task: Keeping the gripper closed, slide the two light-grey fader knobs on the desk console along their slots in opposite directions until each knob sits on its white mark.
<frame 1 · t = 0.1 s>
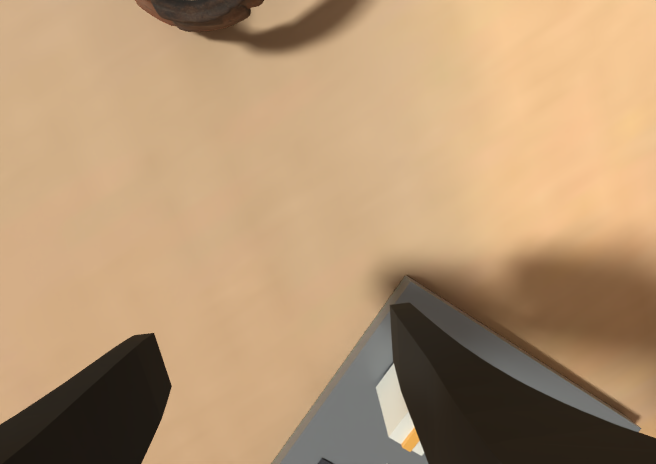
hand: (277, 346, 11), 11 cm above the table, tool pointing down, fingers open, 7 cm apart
console: (437, 453, 24), on the table
fader 2: (412, 398, 19), point 4 cm above the table, slide at 0.0 cm
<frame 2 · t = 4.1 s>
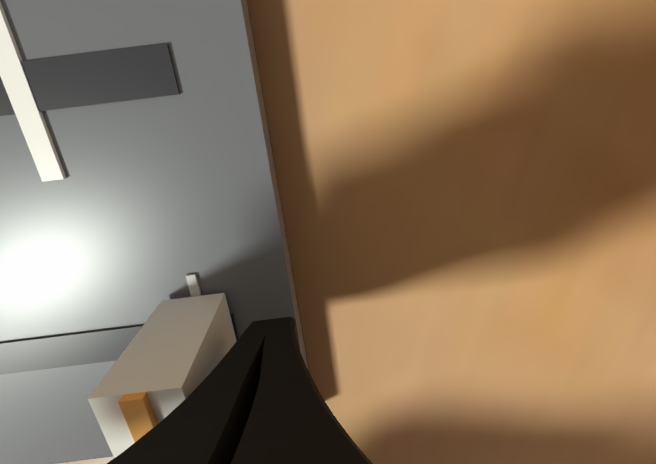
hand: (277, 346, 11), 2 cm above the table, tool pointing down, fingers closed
console: (8, 231, 12), on the table
fader 1: (182, 382, 10), point 4 cm above the table, slide at 0.1 cm, touching gripper
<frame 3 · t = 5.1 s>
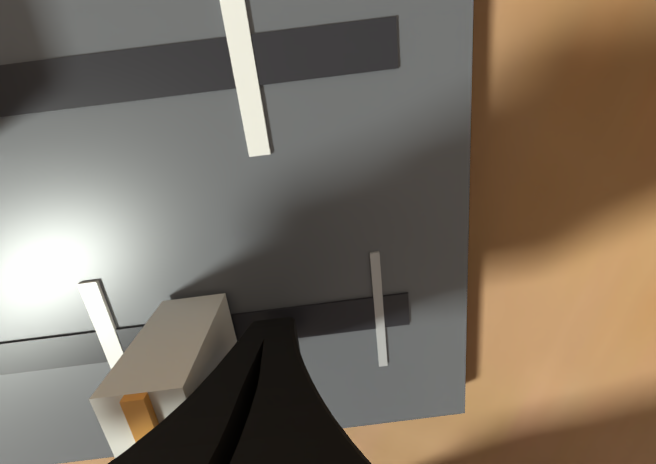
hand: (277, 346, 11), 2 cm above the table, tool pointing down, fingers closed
console: (183, 209, 12), on the table
fader 1: (183, 383, 10), point 4 cm above the table, slide at 5.8 cm, touching gripper
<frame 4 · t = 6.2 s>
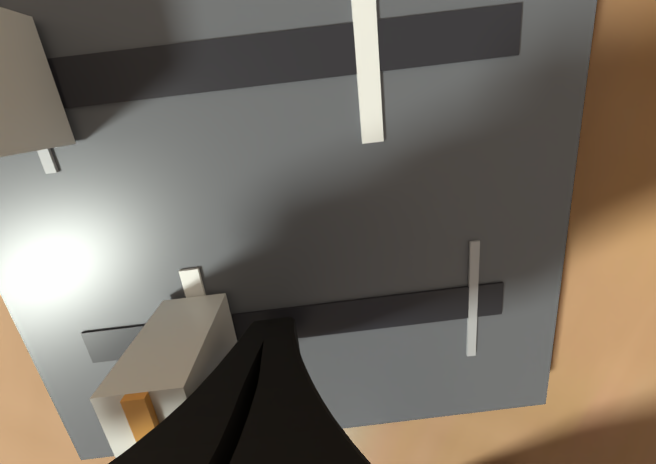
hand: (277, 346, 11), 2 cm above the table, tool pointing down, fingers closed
console: (279, 198, 12), on the table
fader 1: (183, 382, 10), point 4 cm above the table, slide at 9.0 cm, touching gripper
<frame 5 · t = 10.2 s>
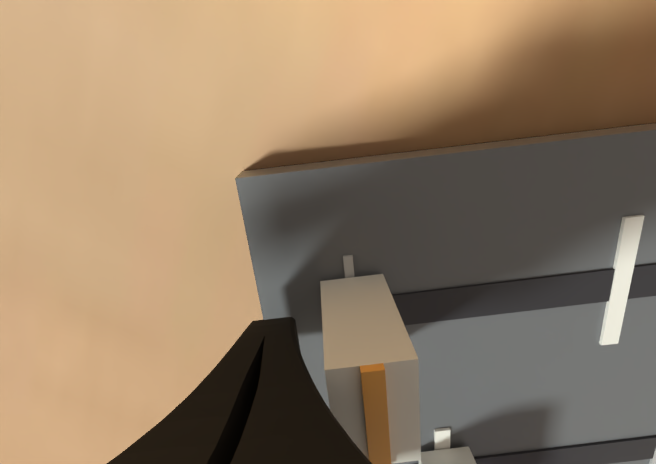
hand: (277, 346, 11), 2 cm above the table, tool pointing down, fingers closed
console: (504, 364, 15), on the table
fader 2: (364, 360, 10), point 4 cm above the table, slide at 0.1 cm, touching gripper
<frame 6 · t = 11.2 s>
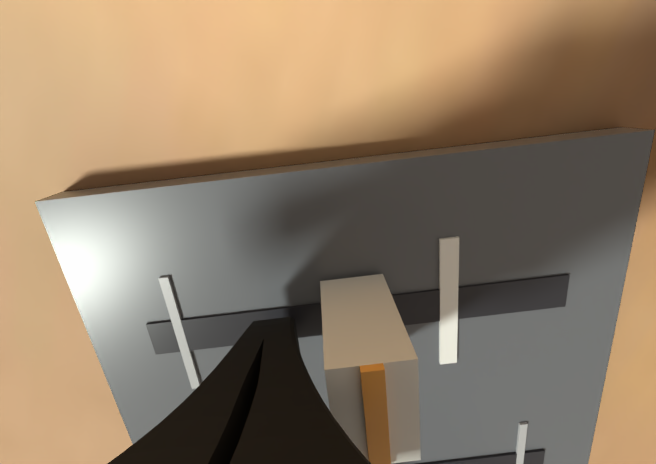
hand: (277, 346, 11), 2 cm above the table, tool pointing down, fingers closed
console: (363, 381, 15), on the table
fader 2: (364, 360, 10), point 3 cm above the table, slide at 5.9 cm, touching gripper
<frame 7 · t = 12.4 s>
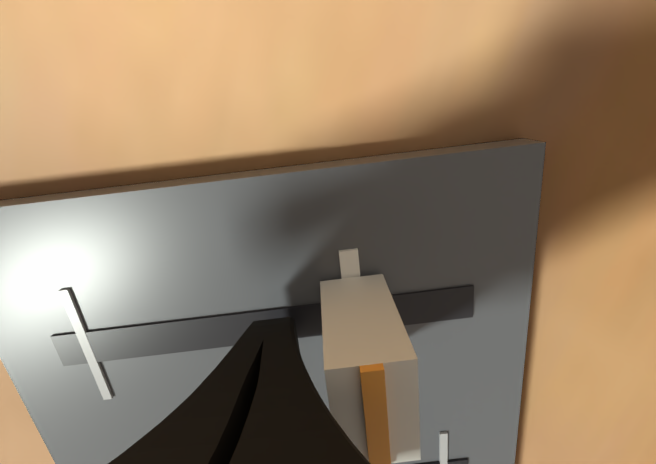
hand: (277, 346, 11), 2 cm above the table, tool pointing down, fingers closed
console: (286, 390, 15), on the table
fader 2: (363, 360, 10), point 3 cm above the table, slide at 9.0 cm, touching gripper
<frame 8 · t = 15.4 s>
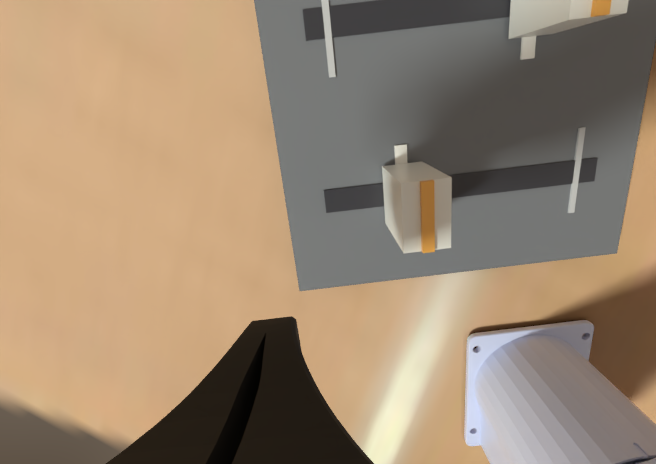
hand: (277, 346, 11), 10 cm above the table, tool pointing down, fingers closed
console: (452, 103, 18), on the table
fader 1: (414, 204, 16), point 3 cm above the table, slide at 9.0 cm
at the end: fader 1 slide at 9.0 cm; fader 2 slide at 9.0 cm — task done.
